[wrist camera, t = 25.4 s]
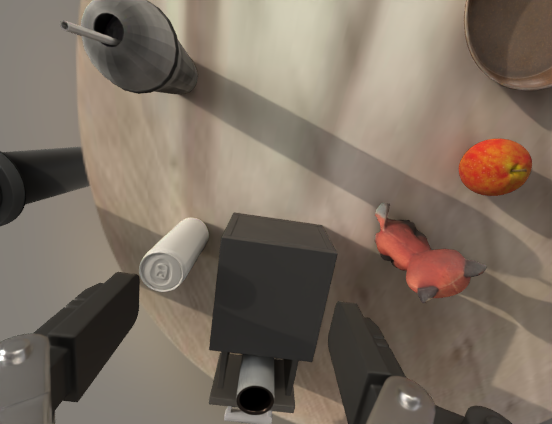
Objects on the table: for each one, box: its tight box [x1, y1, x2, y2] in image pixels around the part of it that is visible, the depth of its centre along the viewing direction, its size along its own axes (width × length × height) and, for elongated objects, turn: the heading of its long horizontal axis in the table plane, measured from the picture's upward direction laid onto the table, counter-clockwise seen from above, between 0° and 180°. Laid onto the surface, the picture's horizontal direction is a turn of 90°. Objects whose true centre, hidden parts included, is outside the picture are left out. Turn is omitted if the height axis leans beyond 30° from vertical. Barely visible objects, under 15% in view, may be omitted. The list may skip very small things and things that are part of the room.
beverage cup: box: [60, 0, 198, 94], centre depth 25 cm, size 7×7×20 cm
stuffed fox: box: [375, 203, 487, 303], centre depth 35 cm, size 8×11×12 cm
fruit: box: [459, 139, 532, 196], centre depth 34 cm, size 7×7×8 cm
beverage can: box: [139, 218, 209, 292], centre depth 34 cm, size 5×5×12 cm
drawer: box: [209, 351, 299, 424], centre depth 40 cm, size 19×12×8 cm, turn 171°
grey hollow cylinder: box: [236, 354, 274, 415], centre depth 38 cm, size 4×4×10 cm
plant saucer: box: [464, 0, 552, 90], centre depth 32 cm, size 18×18×3 cm
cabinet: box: [209, 213, 337, 362], centre depth 37 cm, size 15×13×10 cm
